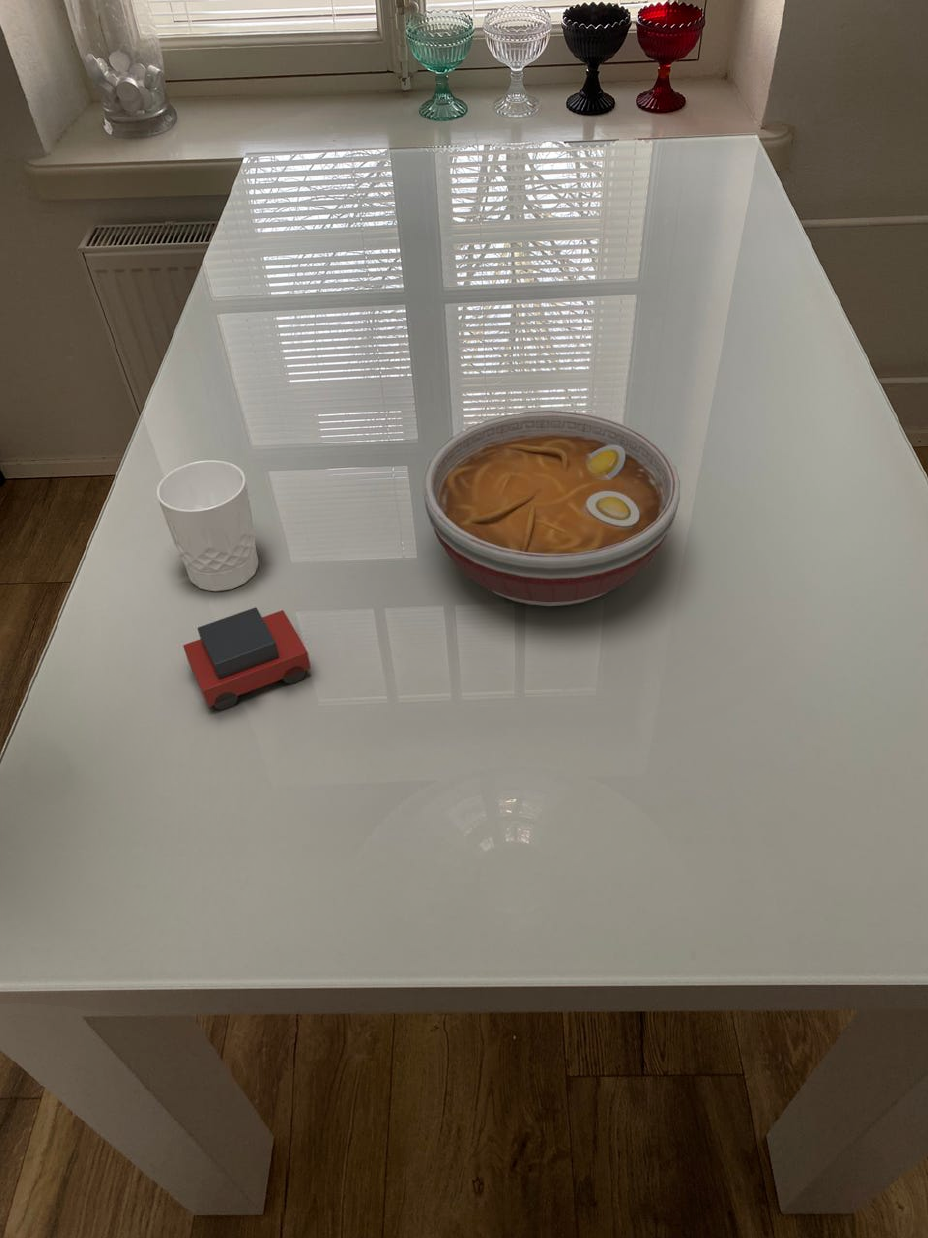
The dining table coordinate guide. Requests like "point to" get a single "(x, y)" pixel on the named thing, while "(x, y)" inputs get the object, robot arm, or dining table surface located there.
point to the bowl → (551, 504)
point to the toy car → (245, 655)
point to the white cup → (210, 523)
